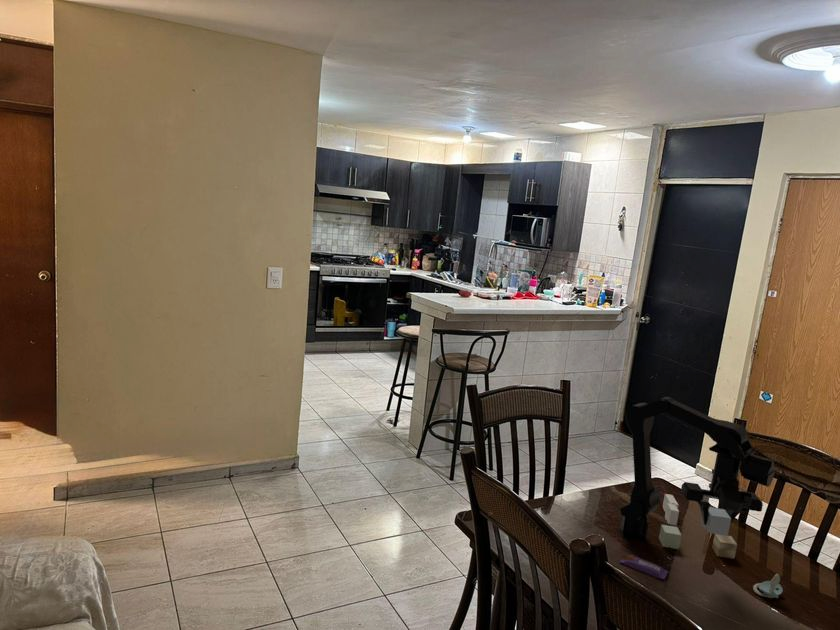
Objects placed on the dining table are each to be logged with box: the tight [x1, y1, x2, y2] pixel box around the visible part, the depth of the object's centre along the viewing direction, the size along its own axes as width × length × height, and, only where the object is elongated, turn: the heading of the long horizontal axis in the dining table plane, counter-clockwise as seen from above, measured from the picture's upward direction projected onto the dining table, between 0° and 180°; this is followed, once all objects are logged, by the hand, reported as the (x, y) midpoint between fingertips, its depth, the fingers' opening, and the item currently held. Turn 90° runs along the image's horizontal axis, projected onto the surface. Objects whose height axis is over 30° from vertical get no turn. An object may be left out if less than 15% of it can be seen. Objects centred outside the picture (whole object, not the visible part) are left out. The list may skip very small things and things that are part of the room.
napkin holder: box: [662, 493, 680, 527], centre depth 184 cm, size 15×11×6 cm
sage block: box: [658, 524, 682, 550], centre depth 168 cm, size 4×4×4 cm
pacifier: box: [752, 573, 784, 599], centre depth 148 cm, size 7×6×6 cm
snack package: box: [619, 554, 669, 580], centre depth 154 cm, size 12×2×5 cm
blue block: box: [701, 506, 731, 536], centre depth 154 cm, size 5×5×5 cm
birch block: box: [711, 534, 738, 560], centre depth 165 cm, size 4×4×4 cm
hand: (715, 525), depth 154 cm, fingers closed on blue block, 5 cm apart
